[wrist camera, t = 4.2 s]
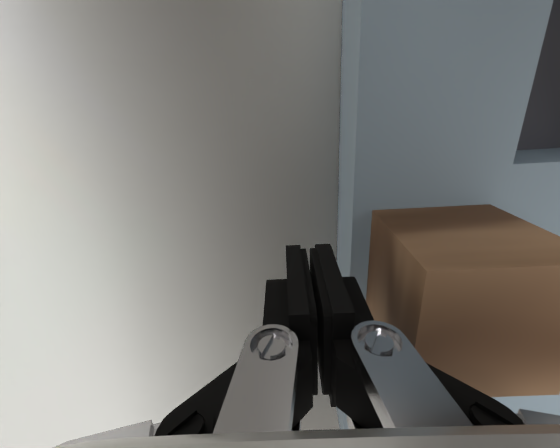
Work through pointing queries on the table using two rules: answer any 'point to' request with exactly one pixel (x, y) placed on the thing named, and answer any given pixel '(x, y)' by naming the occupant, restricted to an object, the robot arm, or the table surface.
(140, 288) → the table surface
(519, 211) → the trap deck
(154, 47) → the table surface
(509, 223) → the walnut cube
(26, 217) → the table surface
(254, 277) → the table surface
